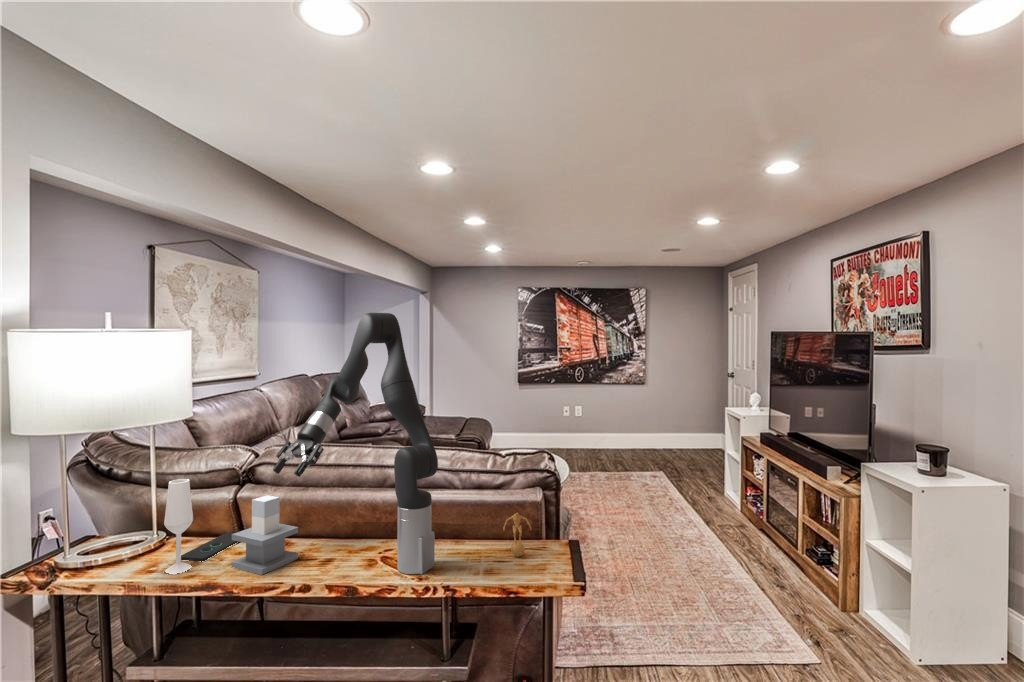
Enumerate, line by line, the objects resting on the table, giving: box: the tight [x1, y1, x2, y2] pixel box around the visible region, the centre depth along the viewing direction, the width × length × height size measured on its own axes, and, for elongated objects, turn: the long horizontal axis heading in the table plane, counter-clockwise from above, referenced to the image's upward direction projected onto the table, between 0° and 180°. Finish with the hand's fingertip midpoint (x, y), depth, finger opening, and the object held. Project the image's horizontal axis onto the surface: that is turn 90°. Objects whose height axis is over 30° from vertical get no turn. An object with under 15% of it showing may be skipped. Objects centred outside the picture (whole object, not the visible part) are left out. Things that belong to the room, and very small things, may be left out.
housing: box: [251, 494, 281, 535], centre depth 146 cm, size 5×5×9 cm
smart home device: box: [181, 532, 239, 563], centre depth 157 cm, size 8×2×20 cm
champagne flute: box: [163, 478, 194, 575], centre depth 142 cm, size 7×7×24 cm
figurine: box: [502, 512, 532, 558], centre depth 151 cm, size 8×6×12 cm
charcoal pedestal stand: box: [231, 523, 299, 576], centre depth 146 cm, size 12×12×9 cm
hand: (286, 473), depth 152 cm, fingers open, 8 cm apart
